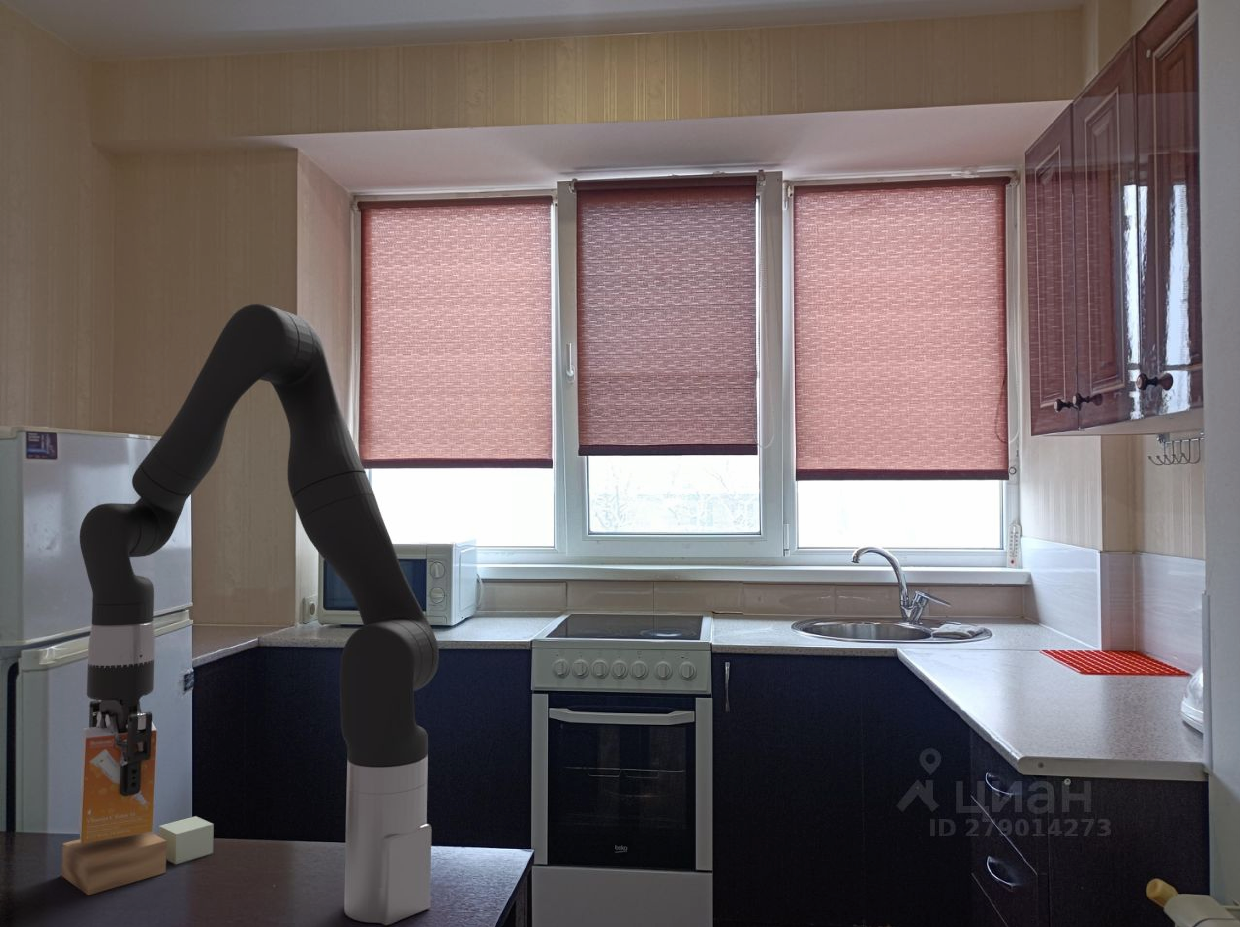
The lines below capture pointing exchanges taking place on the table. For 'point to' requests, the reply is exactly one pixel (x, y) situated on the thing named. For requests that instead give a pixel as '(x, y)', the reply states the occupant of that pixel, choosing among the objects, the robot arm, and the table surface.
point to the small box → (112, 790)
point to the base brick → (113, 861)
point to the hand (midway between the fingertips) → (117, 788)
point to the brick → (187, 839)
